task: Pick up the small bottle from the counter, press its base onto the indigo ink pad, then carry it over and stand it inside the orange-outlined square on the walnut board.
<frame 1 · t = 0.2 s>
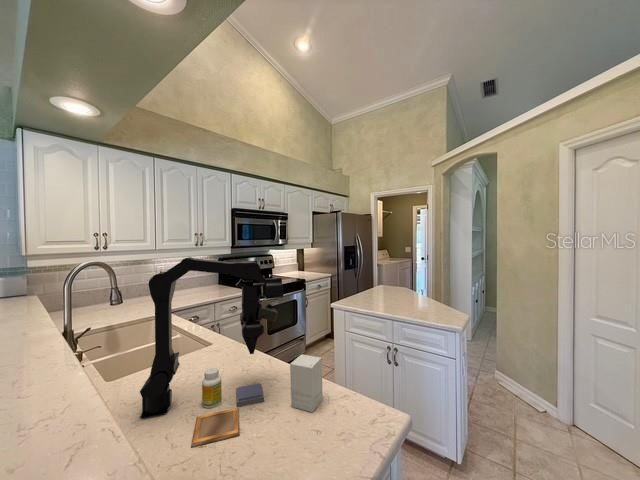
hand: (250, 348, 83), 14 cm above the countertop, tool pointing down, fingers open, 9 cm apart
supplement box: (307, 403, 77), on the countertop
ink pad: (249, 397, 80), on the countertop
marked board: (217, 426, 67), on the countertop
supplement bottle: (211, 403, 78), on the countertop
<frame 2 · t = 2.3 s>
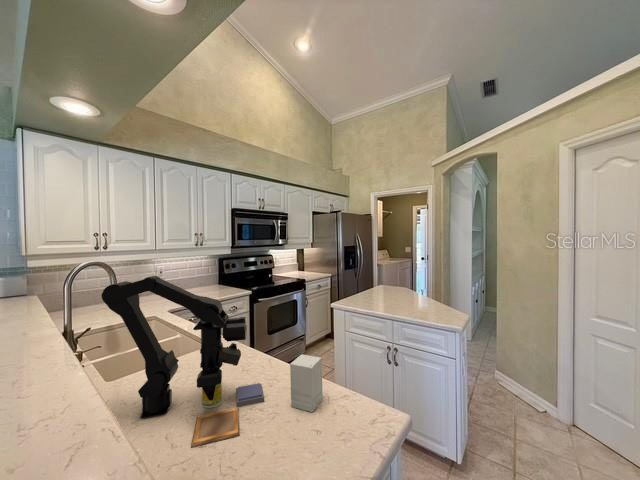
hand: (211, 394, 78), 3 cm above the countertop, tool pointing down, fingers closed on supplement bottle, 5 cm apart
supplement bottle: (211, 403, 78), on the countertop, touching gripper
everything else where it was.
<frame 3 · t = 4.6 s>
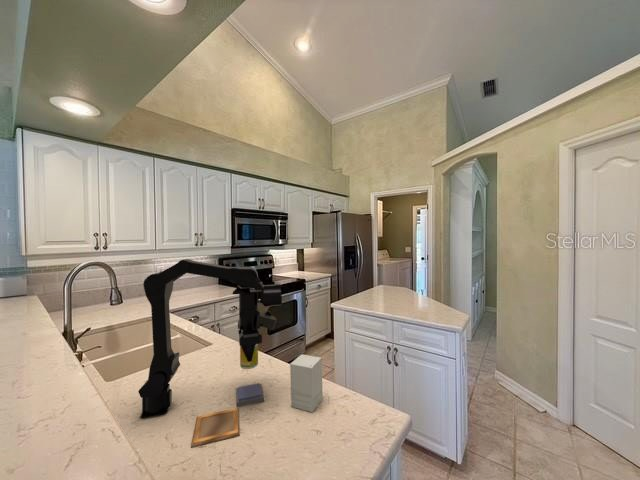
hand: (249, 357, 81), 12 cm above the countertop, tool pointing down, fingers closed on supplement bottle, 5 cm apart
supplement bottle: (249, 366, 80), point 10 cm above the countertop, touching gripper
everything else where it was.
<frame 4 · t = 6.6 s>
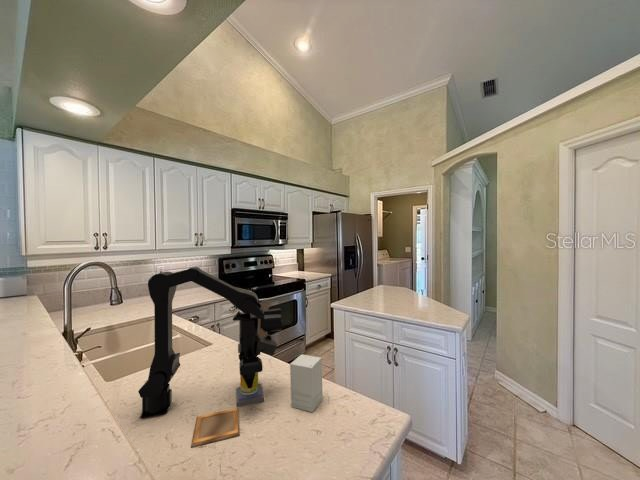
hand: (249, 383, 80), 4 cm above the countertop, tool pointing down, fingers closed on supplement bottle, 5 cm apart
supplement bottle: (249, 391, 80), point 2 cm above the countertop, touching gripper, ink pad
everything else where it was.
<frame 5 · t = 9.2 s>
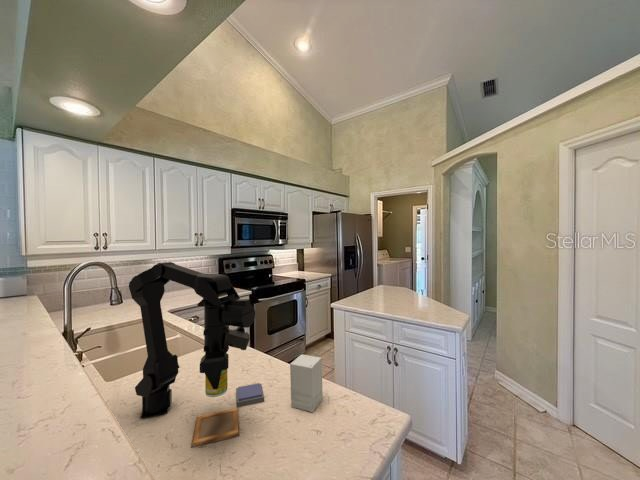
hand: (216, 383, 68), 11 cm above the countertop, tool pointing down, fingers closed on supplement bottle, 5 cm apart
supplement bottle: (216, 392, 68), point 9 cm above the countertop, touching gripper
everything else where it was.
when the fingers open (4 cm above the countertop, at t = 11.2 s): supplement bottle drops 1 cm, resting on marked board.
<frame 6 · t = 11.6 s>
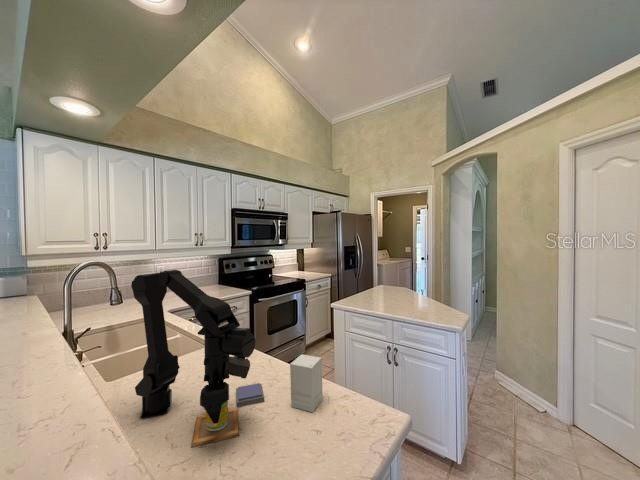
hand: (216, 411, 68), 4 cm above the countertop, tool pointing down, fingers open, 9 cm apart
supplement bottle: (216, 425, 68), resting on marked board
everything else where it was.
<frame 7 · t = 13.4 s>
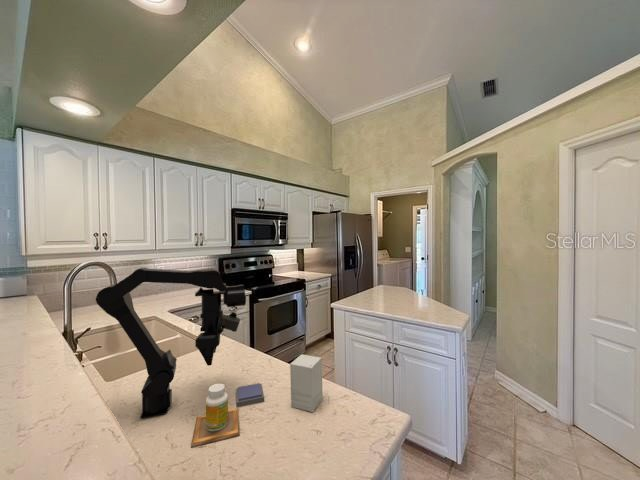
hand: (211, 358, 81), 12 cm above the countertop, tool pointing down, fingers open, 9 cm apart
nothing on the countertop moved.
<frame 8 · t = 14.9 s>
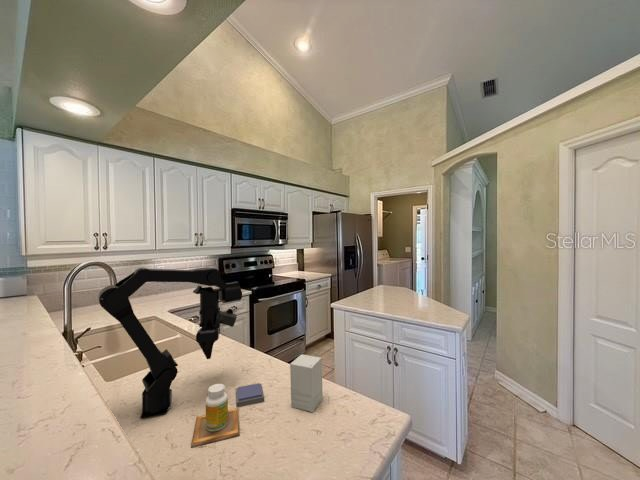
hand: (209, 352, 85), 12 cm above the countertop, tool pointing down, fingers open, 9 cm apart
nothing on the countertop moved.
at the end: supplement bottle 0.1 cm off-centre on the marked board, point 0.2 cm above the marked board's base; supplement bottle tilted 0°; the gripper is holding nothing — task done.
